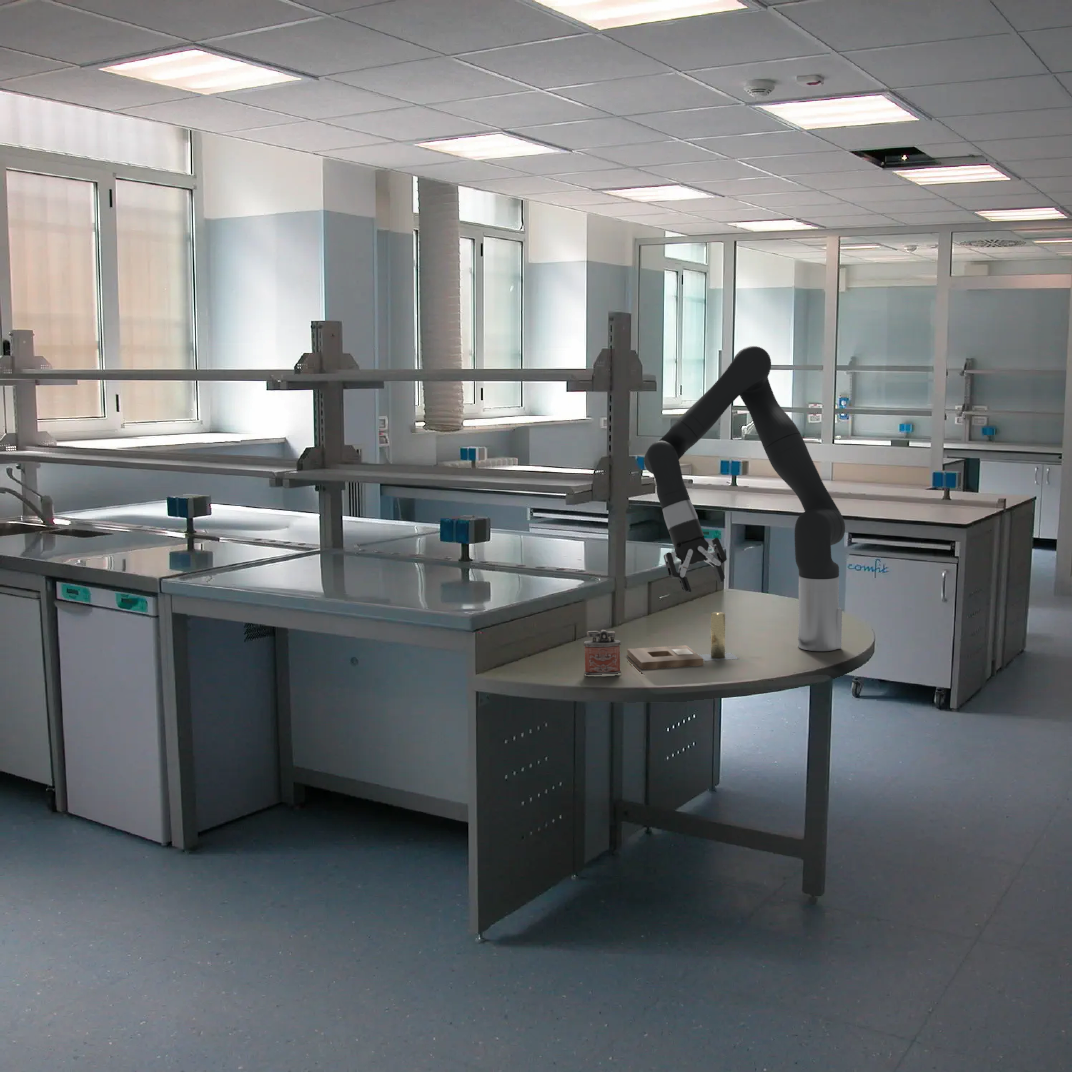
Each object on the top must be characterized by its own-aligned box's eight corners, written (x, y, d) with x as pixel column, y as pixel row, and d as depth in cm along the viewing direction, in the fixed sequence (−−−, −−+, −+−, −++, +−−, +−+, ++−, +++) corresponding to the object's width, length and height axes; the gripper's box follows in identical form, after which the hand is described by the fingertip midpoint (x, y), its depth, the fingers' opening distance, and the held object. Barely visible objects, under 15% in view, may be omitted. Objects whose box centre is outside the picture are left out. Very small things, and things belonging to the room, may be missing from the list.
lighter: (620, 672, 249) (619, 628, 247) (621, 676, 245) (621, 631, 244) (583, 673, 248) (582, 629, 247) (585, 677, 245) (584, 632, 244)
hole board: (686, 657, 260) (686, 644, 260) (703, 671, 247) (703, 657, 247) (627, 661, 258) (627, 648, 257) (641, 675, 245) (641, 661, 245)
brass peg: (722, 654, 256) (722, 611, 255) (727, 657, 253) (727, 614, 252) (709, 655, 256) (708, 612, 254) (713, 658, 252) (713, 615, 251)
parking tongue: (730, 658, 258) (730, 652, 258) (739, 665, 252) (739, 658, 252) (697, 661, 257) (697, 654, 257) (704, 667, 251) (704, 660, 251)
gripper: (703, 518, 271) (726, 581, 269) (650, 534, 267) (672, 598, 265) (714, 511, 263) (737, 576, 261) (660, 527, 260) (683, 594, 258)
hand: (705, 587), depth 263 cm, fingers open, 8 cm apart
